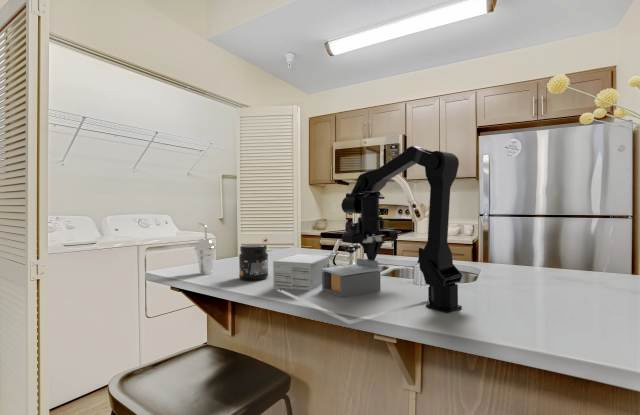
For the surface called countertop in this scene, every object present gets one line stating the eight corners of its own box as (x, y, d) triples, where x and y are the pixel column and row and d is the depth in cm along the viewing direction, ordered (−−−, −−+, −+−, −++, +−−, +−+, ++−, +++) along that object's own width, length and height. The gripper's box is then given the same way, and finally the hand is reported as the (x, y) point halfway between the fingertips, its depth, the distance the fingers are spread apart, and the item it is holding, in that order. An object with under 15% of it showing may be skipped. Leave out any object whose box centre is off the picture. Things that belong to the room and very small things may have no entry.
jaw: (352, 292, 98) (352, 273, 98) (340, 294, 96) (340, 275, 96) (343, 289, 102) (343, 271, 102) (331, 291, 100) (331, 273, 100)
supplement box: (311, 293, 101) (310, 262, 101) (272, 290, 106) (272, 260, 106) (330, 281, 117) (329, 255, 117) (295, 279, 122) (295, 253, 122)
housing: (380, 292, 101) (380, 271, 101) (342, 300, 93) (342, 277, 93) (359, 286, 109) (358, 266, 109) (322, 292, 101) (322, 271, 101)
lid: (380, 270, 101) (380, 261, 101) (341, 276, 93) (341, 266, 93) (358, 265, 109) (358, 257, 109) (321, 270, 101) (321, 261, 101)
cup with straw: (194, 276, 127) (193, 223, 127) (194, 272, 136) (194, 222, 136) (217, 274, 130) (216, 223, 130) (216, 270, 139) (216, 222, 139)
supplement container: (239, 276, 127) (239, 244, 127) (268, 274, 129) (267, 243, 129) (238, 282, 117) (237, 247, 117) (268, 280, 119) (268, 246, 119)
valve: (360, 277, 123) (359, 244, 123) (360, 281, 117) (360, 246, 116) (342, 276, 124) (341, 244, 124) (341, 281, 117) (341, 246, 117)
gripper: (374, 212, 117) (375, 257, 117) (331, 214, 107) (332, 263, 107) (398, 212, 108) (399, 261, 108) (352, 215, 97) (354, 268, 98)
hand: (371, 263), depth 105 cm, fingers closed
